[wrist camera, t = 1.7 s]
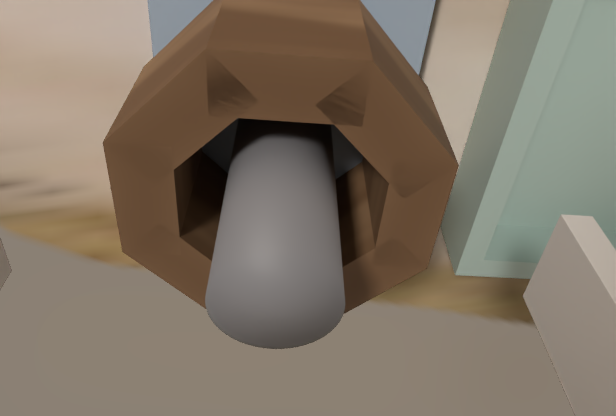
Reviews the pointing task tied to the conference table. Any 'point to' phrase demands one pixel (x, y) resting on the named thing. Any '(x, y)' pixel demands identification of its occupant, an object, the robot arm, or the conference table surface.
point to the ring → (280, 107)
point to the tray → (537, 138)
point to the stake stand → (283, 201)
